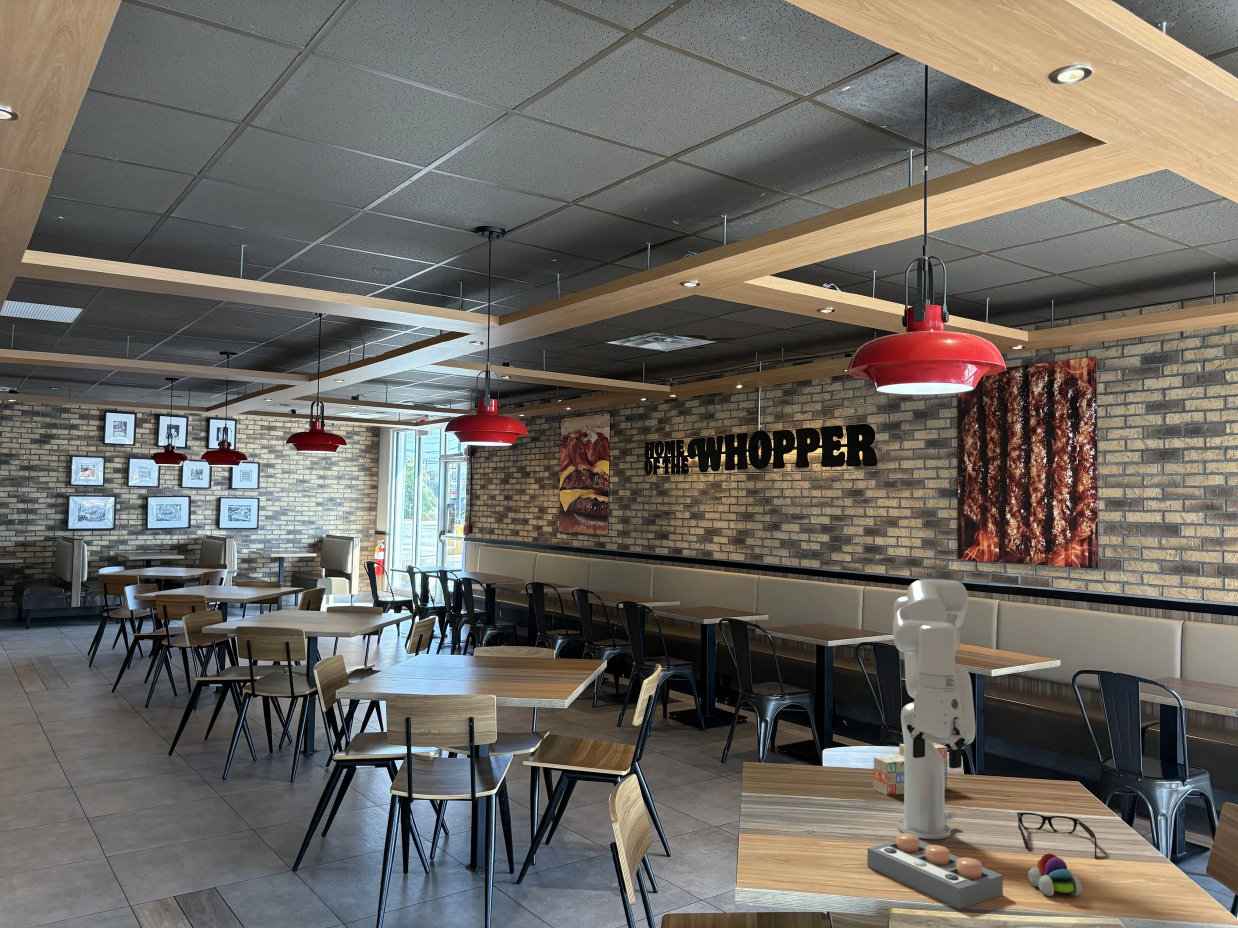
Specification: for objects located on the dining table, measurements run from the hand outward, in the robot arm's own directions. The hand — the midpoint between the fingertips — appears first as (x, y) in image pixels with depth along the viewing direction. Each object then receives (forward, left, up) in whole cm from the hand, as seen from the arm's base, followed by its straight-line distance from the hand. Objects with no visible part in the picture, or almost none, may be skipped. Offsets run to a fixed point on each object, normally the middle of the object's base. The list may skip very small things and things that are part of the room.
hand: (936, 762), depth 189 cm
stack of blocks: (-48, -47, -26) cm, 71 cm away
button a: (-1, -9, -22) cm, 24 cm away
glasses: (-46, -2, -26) cm, 53 cm away
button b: (-1, -1, -22) cm, 22 cm away
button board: (0, -1, -25) cm, 25 cm away
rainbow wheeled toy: (-19, +15, -26) cm, 35 cm away
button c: (-1, +7, -22) cm, 23 cm away
